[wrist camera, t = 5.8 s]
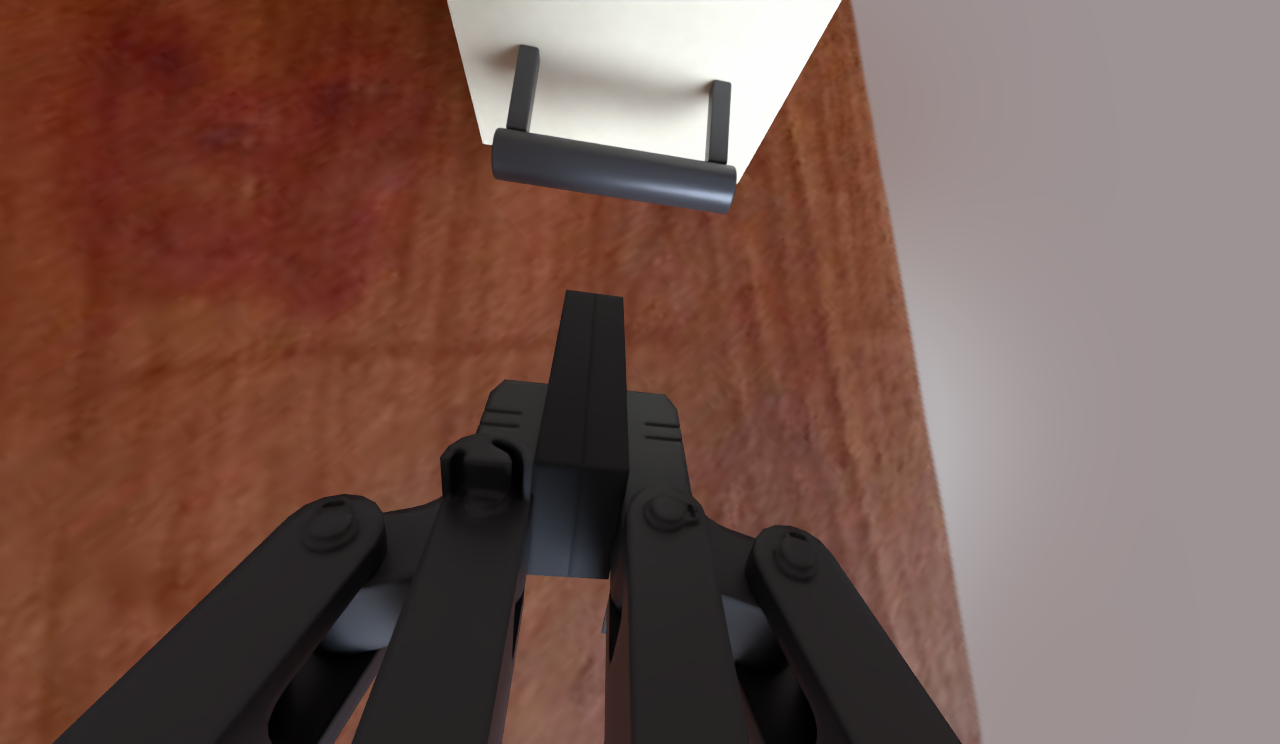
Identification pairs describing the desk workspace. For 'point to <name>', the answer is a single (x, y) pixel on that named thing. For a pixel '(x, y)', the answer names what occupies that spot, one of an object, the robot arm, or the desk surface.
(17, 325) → the desk surface
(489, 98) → the drawer
